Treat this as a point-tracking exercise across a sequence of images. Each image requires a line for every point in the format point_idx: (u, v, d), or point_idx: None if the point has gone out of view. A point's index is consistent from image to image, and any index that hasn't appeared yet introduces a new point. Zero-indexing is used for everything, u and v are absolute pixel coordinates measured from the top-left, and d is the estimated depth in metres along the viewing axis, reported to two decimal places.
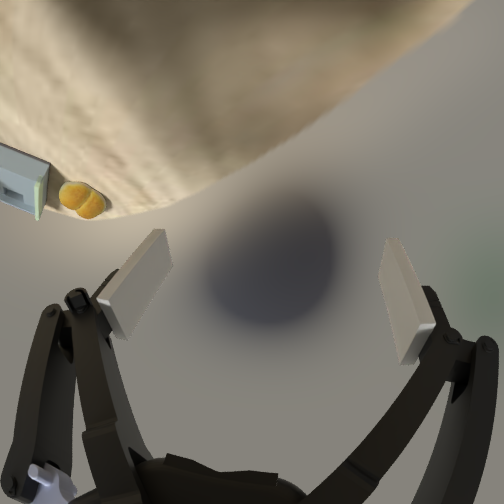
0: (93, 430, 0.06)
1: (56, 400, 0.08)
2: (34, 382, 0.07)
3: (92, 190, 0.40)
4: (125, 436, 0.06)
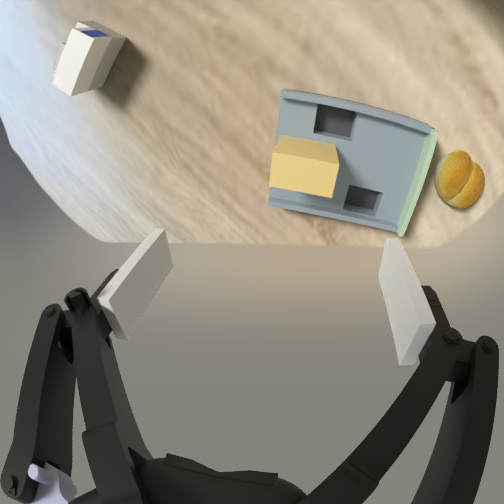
0: (93, 430, 0.06)
1: (56, 400, 0.08)
2: (33, 382, 0.07)
3: (471, 160, 0.30)
4: (125, 436, 0.06)
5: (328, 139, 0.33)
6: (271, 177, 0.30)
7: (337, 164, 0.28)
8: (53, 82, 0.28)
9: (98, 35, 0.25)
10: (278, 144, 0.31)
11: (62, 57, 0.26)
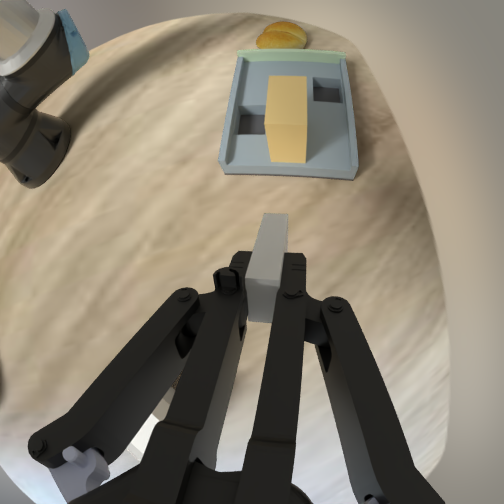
0: (170, 427, 0.06)
1: (141, 395, 0.09)
2: (123, 370, 0.08)
3: None
4: (200, 445, 0.06)
5: None
6: (295, 123, 0.24)
7: (269, 77, 0.26)
8: None
9: None
10: None
11: None
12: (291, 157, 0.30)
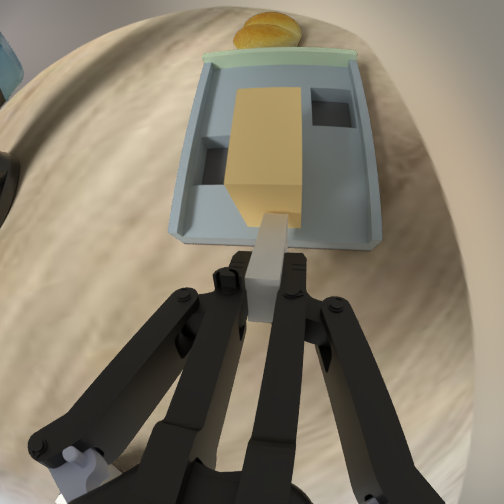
0: (170, 427, 0.06)
1: (141, 395, 0.09)
2: (123, 370, 0.08)
3: None
4: (200, 445, 0.06)
5: None
6: (280, 181, 0.14)
7: (238, 92, 0.16)
8: None
9: None
10: None
11: None
12: None
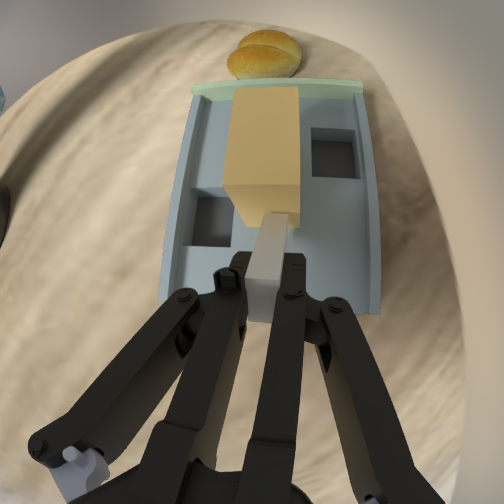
0: (170, 427, 0.06)
1: (141, 395, 0.09)
2: (123, 370, 0.08)
3: None
4: (200, 445, 0.06)
5: (238, 221, 0.22)
6: (278, 181, 0.14)
7: None
8: None
9: None
10: None
11: None
12: None
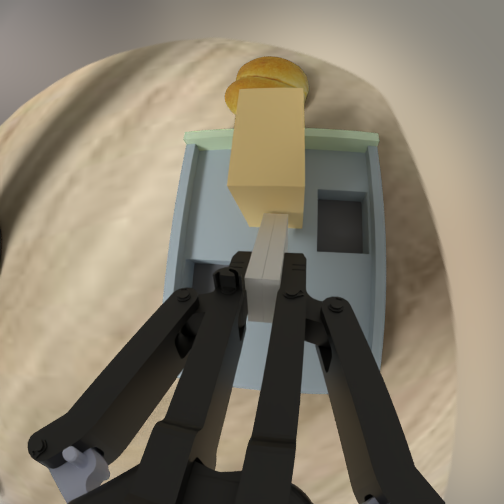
0: (170, 426, 0.06)
1: (141, 395, 0.09)
2: (123, 370, 0.08)
3: None
4: (200, 445, 0.06)
5: None
6: (283, 182, 0.14)
7: None
8: None
9: None
10: None
11: None
12: None
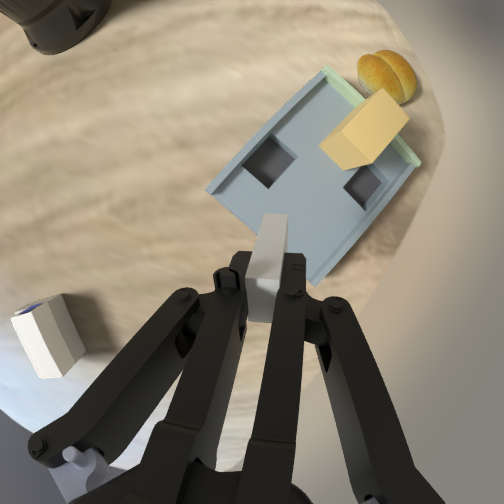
0: (170, 427, 0.06)
1: (141, 395, 0.09)
2: (123, 370, 0.08)
3: None
4: (200, 445, 0.06)
5: (283, 178, 0.30)
6: (364, 153, 0.23)
7: (381, 89, 0.22)
8: (40, 376, 0.28)
9: (34, 307, 0.28)
10: (331, 136, 0.25)
11: (26, 348, 0.27)
12: (337, 159, 0.29)
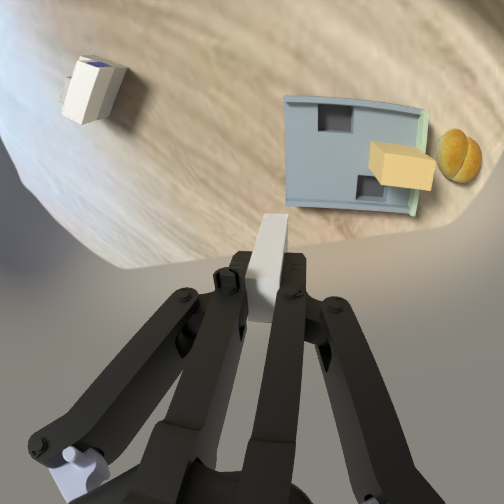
0: (170, 427, 0.06)
1: (141, 395, 0.09)
2: (123, 370, 0.08)
3: (465, 136, 0.32)
4: (200, 445, 0.06)
5: (332, 135, 0.36)
6: (383, 176, 0.30)
7: (434, 160, 0.28)
8: (63, 113, 0.34)
9: (102, 65, 0.31)
10: (379, 147, 0.31)
11: (70, 88, 0.31)
12: (371, 159, 0.35)
